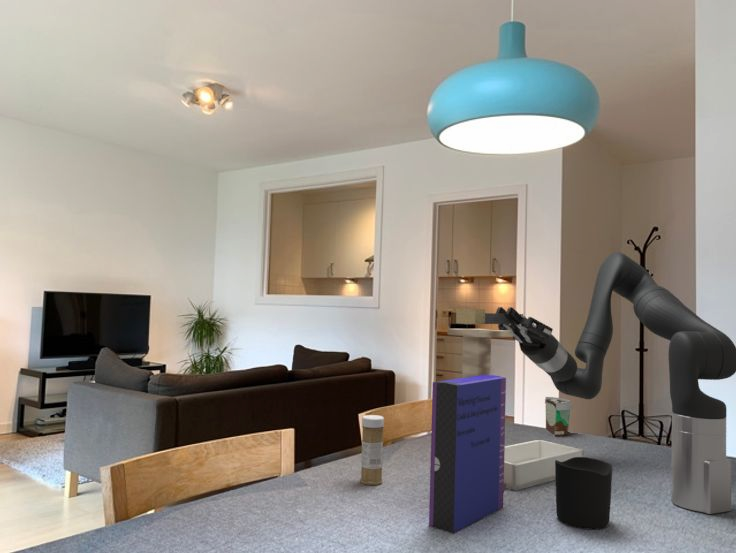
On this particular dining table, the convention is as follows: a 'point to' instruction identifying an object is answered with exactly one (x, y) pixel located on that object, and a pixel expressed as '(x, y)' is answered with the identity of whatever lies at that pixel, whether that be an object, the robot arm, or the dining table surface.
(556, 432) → the food container
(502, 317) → the pin
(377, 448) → the sprinkles bottle
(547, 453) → the tray
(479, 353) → the bracket
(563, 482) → the pen holder
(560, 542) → the dining table surface
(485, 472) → the purple book
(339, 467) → the dining table surface
